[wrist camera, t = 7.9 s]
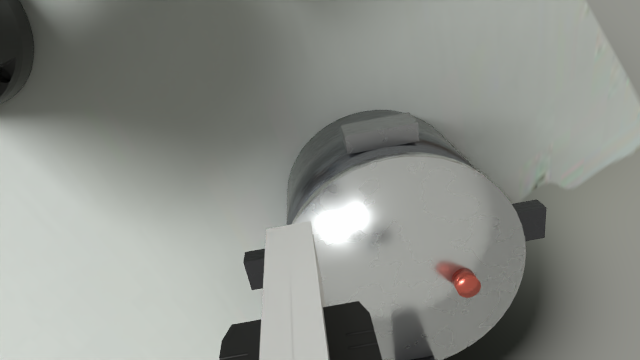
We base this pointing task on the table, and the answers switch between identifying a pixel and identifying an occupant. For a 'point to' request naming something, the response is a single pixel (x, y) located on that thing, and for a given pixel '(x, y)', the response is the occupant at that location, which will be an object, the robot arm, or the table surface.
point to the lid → (418, 250)
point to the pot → (362, 144)
